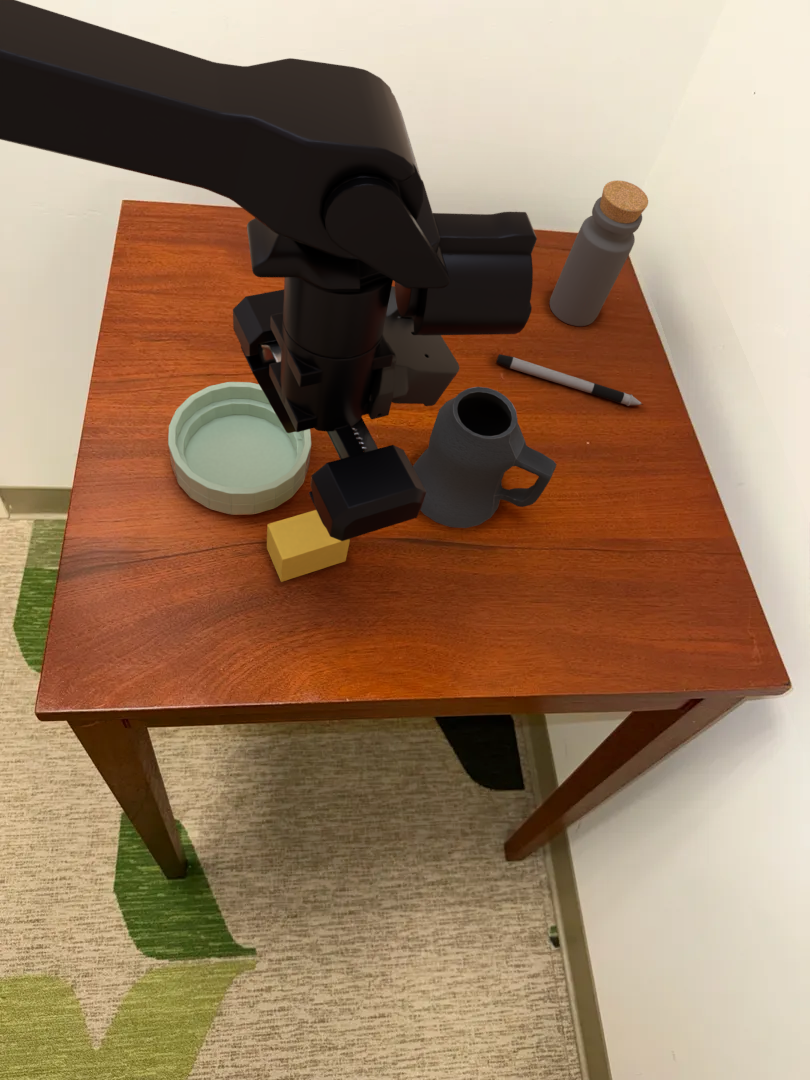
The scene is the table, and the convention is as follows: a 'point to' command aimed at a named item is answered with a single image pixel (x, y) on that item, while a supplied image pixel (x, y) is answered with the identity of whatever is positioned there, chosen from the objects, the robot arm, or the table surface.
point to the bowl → (236, 450)
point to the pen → (567, 380)
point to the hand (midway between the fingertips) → (315, 477)
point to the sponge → (303, 546)
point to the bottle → (598, 254)
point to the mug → (477, 460)
